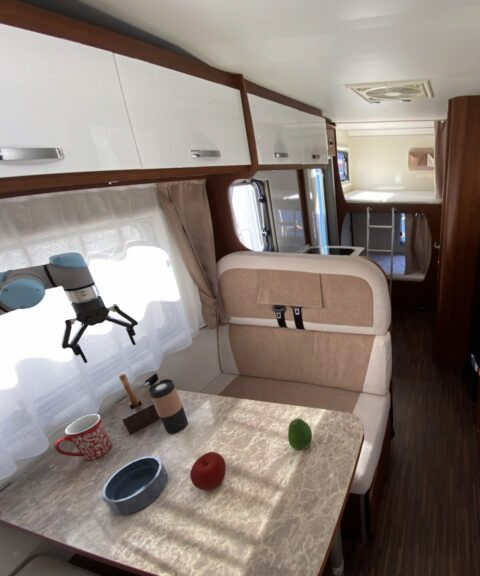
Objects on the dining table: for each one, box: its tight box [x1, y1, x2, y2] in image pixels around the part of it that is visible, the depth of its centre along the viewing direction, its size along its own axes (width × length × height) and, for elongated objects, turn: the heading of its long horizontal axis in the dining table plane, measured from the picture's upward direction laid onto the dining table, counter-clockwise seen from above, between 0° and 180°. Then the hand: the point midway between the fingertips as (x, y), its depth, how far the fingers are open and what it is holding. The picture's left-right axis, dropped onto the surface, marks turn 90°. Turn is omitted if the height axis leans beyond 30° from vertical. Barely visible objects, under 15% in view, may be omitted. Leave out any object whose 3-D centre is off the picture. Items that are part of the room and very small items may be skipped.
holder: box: [116, 391, 161, 436], centre depth 119 cm, size 10×10×8 cm
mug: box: [54, 413, 112, 461], centre depth 104 cm, size 13×9×14 cm
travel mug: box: [147, 378, 189, 435], centre depth 113 cm, size 8×8×20 cm
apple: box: [189, 451, 227, 491], centre depth 94 cm, size 10×10×10 cm
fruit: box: [287, 418, 313, 451], centre depth 104 cm, size 8×8×12 cm
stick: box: [118, 373, 140, 408], centre depth 117 cm, size 2×2×22 cm
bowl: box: [101, 455, 169, 516], centre depth 93 cm, size 15×15×6 cm
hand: (110, 352), depth 108 cm, fingers open, 13 cm apart
